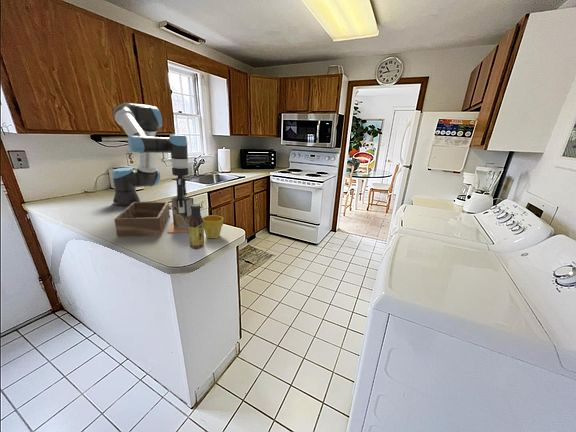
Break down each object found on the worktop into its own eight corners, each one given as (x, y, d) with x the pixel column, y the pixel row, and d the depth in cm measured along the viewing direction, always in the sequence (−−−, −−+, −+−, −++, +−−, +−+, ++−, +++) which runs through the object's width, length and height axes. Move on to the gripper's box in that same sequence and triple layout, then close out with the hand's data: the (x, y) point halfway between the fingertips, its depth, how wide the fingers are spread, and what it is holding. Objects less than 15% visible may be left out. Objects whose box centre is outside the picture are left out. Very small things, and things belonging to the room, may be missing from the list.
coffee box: (195, 226, 131) (194, 197, 126) (188, 230, 125) (186, 200, 120) (180, 223, 133) (178, 195, 127) (172, 227, 127) (170, 198, 122)
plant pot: (212, 230, 128) (212, 213, 125) (227, 235, 124) (227, 217, 121) (197, 237, 119) (196, 218, 116) (213, 242, 115) (213, 223, 112)
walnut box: (134, 216, 138) (132, 202, 135) (169, 216, 143) (168, 202, 140) (117, 236, 112) (114, 219, 109) (160, 235, 118) (159, 218, 115)
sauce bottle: (202, 249, 107) (200, 208, 101) (188, 249, 106) (185, 207, 100) (205, 243, 113) (204, 203, 107) (192, 243, 113) (190, 203, 106)
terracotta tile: (171, 223, 133) (171, 222, 133) (198, 222, 137) (198, 221, 137) (167, 233, 121) (167, 232, 120) (196, 232, 125) (196, 231, 125)
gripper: (175, 163, 127) (177, 203, 134) (168, 170, 107) (171, 216, 115) (190, 164, 130) (192, 203, 137) (186, 170, 110) (188, 216, 117)
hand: (182, 209), depth 126 cm, fingers open, 9 cm apart
